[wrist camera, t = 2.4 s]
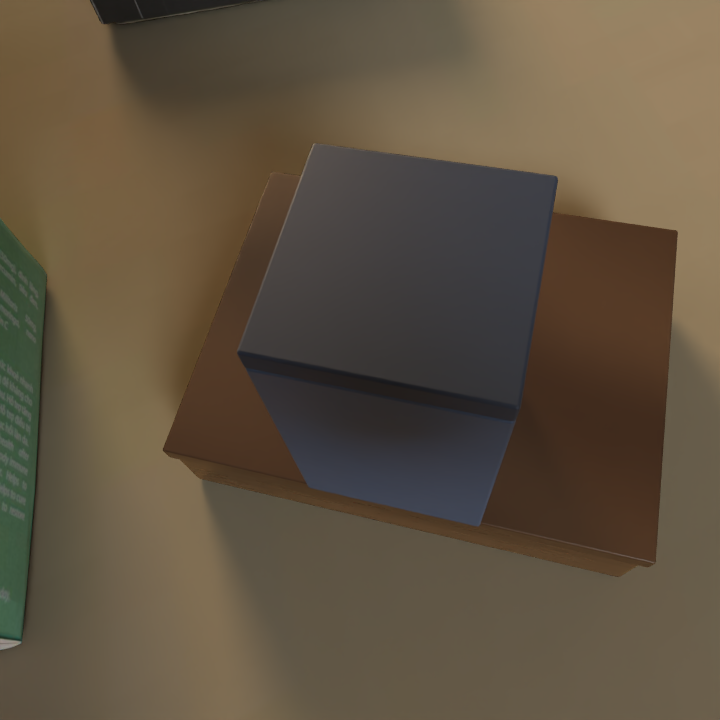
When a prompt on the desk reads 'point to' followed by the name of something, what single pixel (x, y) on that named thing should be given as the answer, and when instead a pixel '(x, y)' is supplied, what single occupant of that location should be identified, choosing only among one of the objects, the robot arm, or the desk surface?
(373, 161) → the small box
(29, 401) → the box
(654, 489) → the brown flat block
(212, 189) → the desk surface
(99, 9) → the disk drive
